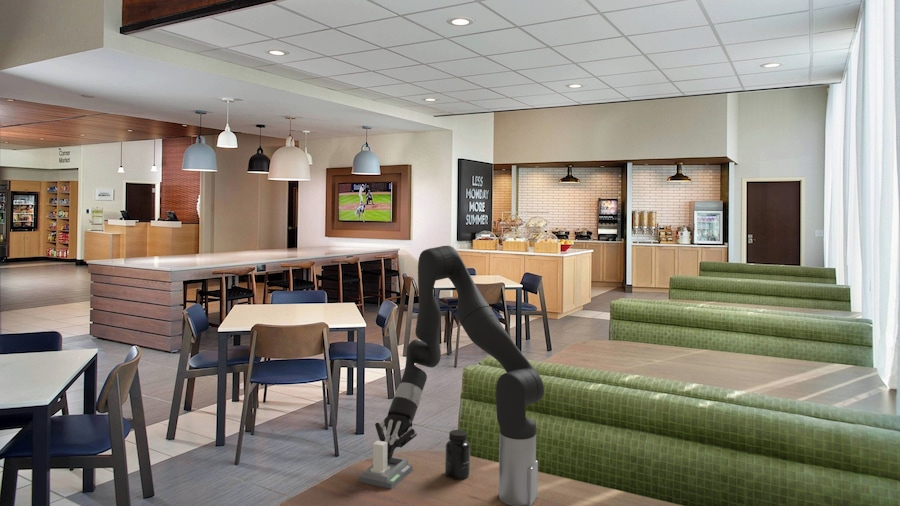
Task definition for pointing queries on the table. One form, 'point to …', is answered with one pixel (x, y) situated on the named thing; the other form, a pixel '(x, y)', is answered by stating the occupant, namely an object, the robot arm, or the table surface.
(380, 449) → the block
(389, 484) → the grey slotted stand
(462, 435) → the supplement bottle
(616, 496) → the table surface
